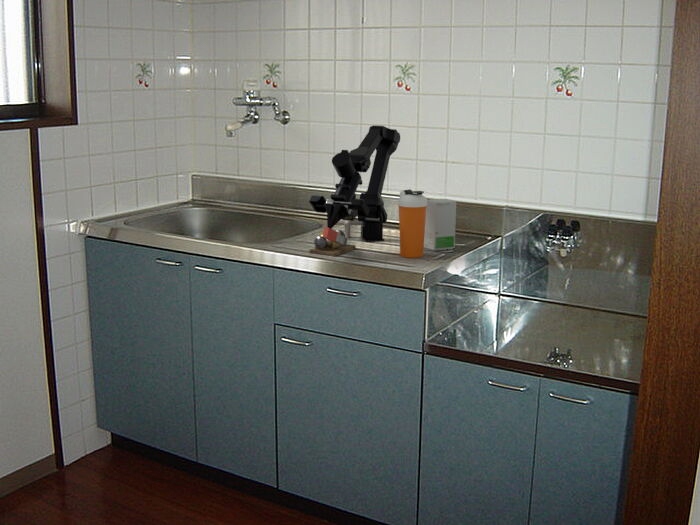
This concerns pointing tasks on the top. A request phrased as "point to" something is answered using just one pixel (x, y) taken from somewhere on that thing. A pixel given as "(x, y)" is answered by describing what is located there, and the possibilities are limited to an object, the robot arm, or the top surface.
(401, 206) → the shaker bottle
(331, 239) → the valve lever
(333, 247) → the valve stand
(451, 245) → the skincare box
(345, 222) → the pipe connector
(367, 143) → the robot arm
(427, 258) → the top surface
